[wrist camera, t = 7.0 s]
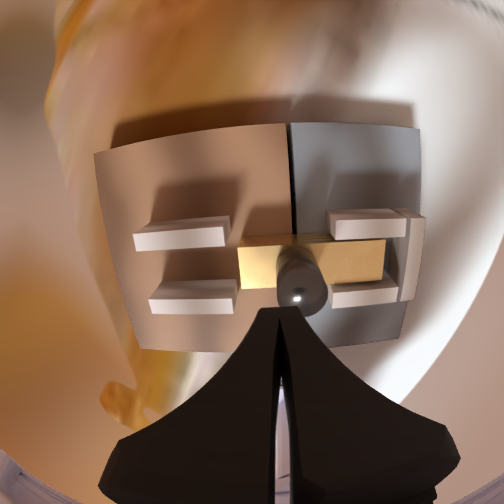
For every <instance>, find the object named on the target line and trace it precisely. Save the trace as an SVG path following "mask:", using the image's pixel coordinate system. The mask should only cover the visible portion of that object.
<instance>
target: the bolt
mask: <svg viewBox="0 0 504 504" xmlns="http://www.w3.org/2000/svg"><path fill="white" fill-rule="evenodd" d="M385 244H386V240H385V239H384V238H367V239H346V240H335V239H334V237H333V236H332V235H331V233H330V232H326V233H306V234H287V235H269V236H251V237H241V238H240V241H239V244H238V247H237V249H238V258H239V268H240V277H241V286H242V289H251V288H273V287H277V301H278V304H279V306H280V307H286V306H297V307H299V308H300V310H301V312H302V314H303V315H304V317H309V316H312V315H314V314H316V313H318V312H319V311H320V310H321V309H322V308H323V307H324V306H325V304H326V302H327V299H328V288H327V285H326V284H337V283H350V282H363V281H374V280H382V273H383V265H384V255H385Z"/></svg>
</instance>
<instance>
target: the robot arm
mask: <svg viewBox="0 0 504 504" xmlns="http://www.w3.org/2000/svg"><path fill="white" fill-rule="evenodd" d="M281 379H282V386H280V382H281ZM460 459H461V458H460V455H459V453H458V450H457V448H456V445H455V443H454V440H453V438H452V436H451V435H450V433H449V431H448V430H447V428H446V426H445V425H443V424H440V423H438V422H435V421H433V420H430V419H428V418H426V417H423V416H421V415H418V414H416V413H414V412H412V411H410V410H408V409H406V408H404V407H402V406H400V405H399V404H397V403H395V402H393V401H391V400H390V399H388V398H387V397H385V396H384V395H382V394H381V393H379V392H378V391H376V390H375V389H373V388H372V387H370V386H369V385H367V384H366V383H365V382H364V381H362V380H361V379H360V378H359V377H357V376H356V375H355V374H354V373H353V372H352V371H350V370H349V369H348V368H347V367H346V366H345V365H344V364H343V363H342V362H341V361H340V360H339V359H338V358H337V357H336V356H335V355H334V354H333V353H332V352H331V351H330V350H329V349H328V347H327V346H326V345H325V344H324V343H323V342H322V340H321V339H320V338H319V337H318V335H317V334H316V333H315V332H314V330H313V329H312V327H311V326H310V325H309V323H308V322H307V320H306V319H305V317H304V315H303V314H302V312H301V310H300V308H299V307H297V306H286V307H265V308H260V309H259V310H258V312H257V315H256V317H255V319H254V321H253V323H252V325H251V327H250V328H249V330H248V332H247V333H246V335H245V337H244V338H243V340H242V341H241V343H240V344H239V346H238V347H237V349H236V350H235V351H234V352H233V354H232V355H231V356H230V358H229V359H228V360H227V362H226V363H225V364H224V365H223V366H222V368H221V369H220V370H219V371H218V372H217V373H216V374H215V375H214V376H213V377H212V378H211V379H210V380H209V381H208V382H207V383H206V384H205V385H204V386H203V387H202V388H201V389H200V390H198V391H197V392H196V393H195V394H194V395H193V396H192V397H190V398H189V399H188V400H187V401H185V402H184V403H183V404H181V405H180V406H179V407H177V408H176V409H174V410H173V411H171V412H170V413H168V414H167V415H166V416H164V417H163V418H161V419H160V420H158V421H156V422H155V423H153V424H151V425H149V426H147V427H145V428H143V429H142V430H140V431H138V432H136V433H134V434H132V435H130V436H127V437H125V438H123V439H121V440H119V441H118V443H117V445H116V447H115V448H114V450H113V451H112V453H111V455H110V457H109V459H108V462H107V464H106V467H105V469H104V471H103V474H102V477H101V479H100V481H99V484H98V487H99V489H100V490H101V491H102V493H103V494H104V495H105V496H107V497H108V498H109V499H111V500H113V501H114V502H115V503H117V504H433V501H434V500H435V499H436V498H437V493H436V490H435V486H436V485H437V484H438V483H440V482H441V481H442V480H443V479H444V478H446V477H447V476H448V475H449V474H450V473H451V472H452V471H453V470H454V469H455V468H456V467H457V465H458V463H459V461H460ZM0 504H82V503H80V502H78V501H76V500H74V499H72V498H70V497H68V496H66V495H64V494H63V493H61V492H59V491H57V490H56V489H53V488H52V487H50V486H49V485H47V484H45V483H44V482H42V481H41V480H39V479H37V478H36V477H34V476H33V475H31V474H30V473H28V472H27V471H26V470H24V469H23V468H22V467H21V466H20V465H19V464H18V463H17V462H16V461H14V460H13V459H12V458H11V457H10V456H9V455H7V454H6V453H5V452H4V451H3V450H1V449H0ZM452 504H504V473H503V474H501V475H500V476H498V477H497V478H495V479H494V480H492V481H491V482H489V483H487V484H486V485H484V486H483V487H481V488H479V489H478V490H476V491H474V492H472V493H471V494H469V495H467V496H465V497H463V498H462V499H460V500H458V501H456V502H454V503H452Z"/></svg>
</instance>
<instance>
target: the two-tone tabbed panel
mask: <svg viewBox="0 0 504 504" xmlns="http://www.w3.org/2000/svg"><path fill="white" fill-rule="evenodd" d="M288 127H289V140H290V153H291V169H292V186H293V206H294V231H295V234H306V233H326V232H330V233H331V235H332V236H333V237H334V239H335V240H346V239H367V238H384V239H385V240H386V244H385V255H384V265H383V273H382V280H374V281H363V282H350V283H337V284H326V285H327V288H328V299H327V302H326V304H325V306H324V307H323V308H322V309H321V310H320V311H319V312H318V313H316V314H314V315H312V316H309V317H305V319H306V320H307V322H308V323H309V325H310V326H311V327H312V329H313V330H314V332H315V333H316V334H317V335H318V337H319V338H320V339H321V340H322V342H323V343H324V344H325V345H326V346H327V347H328V348H330V347H340V346H349V345H357V344H365V343H372V342H379V341H385V340H392V339H398V338H399V335H400V331H401V327H402V323H403V319H404V315H405V310H406V306H407V301H408V300H414V297H415V292H416V287H417V282H418V276H419V270H420V264H421V258H422V250H423V242H424V233H425V223H426V218H425V217H423V216H421V215H419V212H420V192H421V148H420V129H416V128H407V127H399V126H388V125H376V124H361V123H333V122H303V123H291V124H290V125H289V126H288ZM94 162H95V170H96V178H97V185H98V192H99V198H100V204H101V209H102V215H103V220H104V225H105V230H106V234H107V239H108V243H109V248H110V252H111V256H112V260H113V264H114V268H115V272H116V275H117V279H118V282H119V286H120V289H121V293H122V296H123V299H124V302H125V306H126V309H127V312H128V315H129V318H130V321H131V324H132V327H133V329H134V332H135V335H136V338H137V340H138V343H139V346H140V348H143V349H155V350H170V351H190V352H234V351H235V350H236V349H237V347H238V346H239V344H240V343H241V341H242V340H243V338H244V337H245V335H246V333H247V332H248V330H249V328H250V327H251V325H252V323H253V321H254V319H255V317H256V315H257V312H258V310H259V309H260V308H265V307H280V306H279V304H278V301H277V287H273V288H251V289H242V286H241V277H240V268H239V258H238V249H237V247H238V244H239V241H240V238H241V237H251V236H269V235H287V234H292V218H291V196H290V178H289V162H288V148H287V135H286V123H275V124H259V125H247V126H236V127H227V128H218V129H210V130H203V131H196V132H190V133H183V134H177V135H172V136H166V137H161V138H156V139H151V140H146V141H142V142H137V143H133V144H129V145H125V146H121V147H117V148H113V149H109V150H105V151H102V152H98V153H95V154H94Z"/></svg>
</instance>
